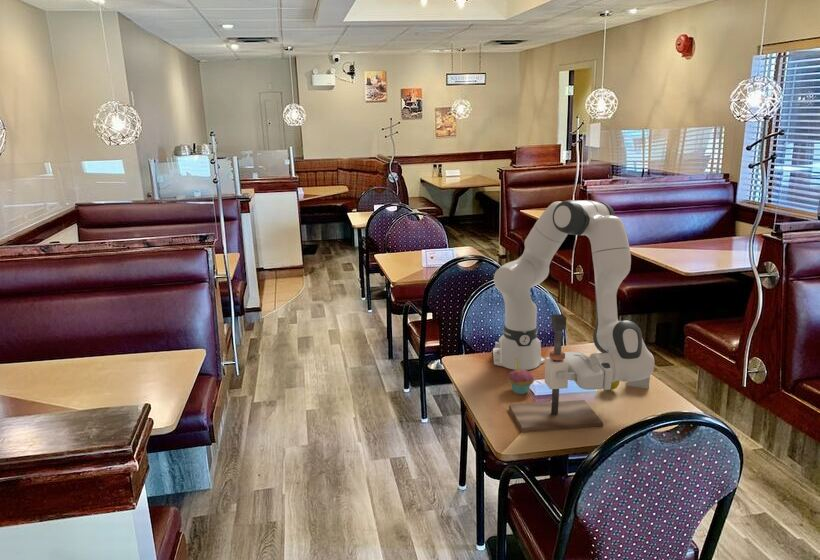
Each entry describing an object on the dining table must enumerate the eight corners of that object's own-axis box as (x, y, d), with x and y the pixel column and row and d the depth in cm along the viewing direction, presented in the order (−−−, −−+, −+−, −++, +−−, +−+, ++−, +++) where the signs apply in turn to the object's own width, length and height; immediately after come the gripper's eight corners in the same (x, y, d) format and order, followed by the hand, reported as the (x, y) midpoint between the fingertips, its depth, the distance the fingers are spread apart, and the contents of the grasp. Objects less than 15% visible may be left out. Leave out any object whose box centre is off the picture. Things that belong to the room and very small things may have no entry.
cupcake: (518, 398, 203) (519, 363, 200) (501, 389, 210) (502, 355, 207) (538, 392, 208) (540, 358, 204) (521, 383, 215) (522, 350, 212)
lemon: (619, 394, 205) (621, 371, 203) (601, 393, 206) (603, 370, 204) (617, 387, 210) (619, 365, 208) (600, 386, 211) (601, 364, 209)
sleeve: (544, 381, 190) (545, 357, 188) (561, 380, 190) (562, 356, 188) (550, 389, 185) (551, 363, 183) (567, 388, 185) (568, 362, 183)
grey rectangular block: (648, 388, 209) (651, 360, 206) (627, 386, 211) (629, 358, 209) (648, 384, 212) (651, 356, 210) (627, 381, 215) (629, 354, 212)
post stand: (509, 408, 196) (511, 310, 188) (584, 404, 199) (589, 306, 190) (522, 432, 182) (525, 326, 174) (602, 427, 184) (609, 322, 176)
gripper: (586, 345, 197) (543, 348, 195) (613, 371, 177) (565, 374, 176) (585, 364, 198) (542, 367, 197) (612, 392, 179) (564, 395, 177)
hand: (553, 370), depth 186 cm, fingers closed on sleeve, 5 cm apart
